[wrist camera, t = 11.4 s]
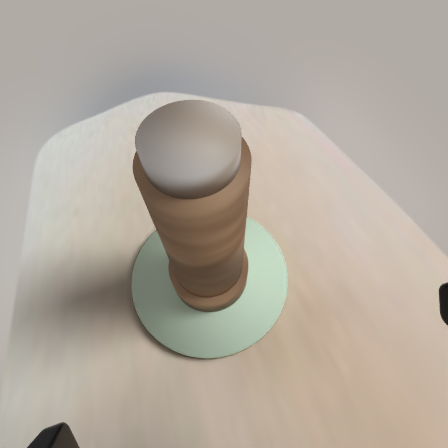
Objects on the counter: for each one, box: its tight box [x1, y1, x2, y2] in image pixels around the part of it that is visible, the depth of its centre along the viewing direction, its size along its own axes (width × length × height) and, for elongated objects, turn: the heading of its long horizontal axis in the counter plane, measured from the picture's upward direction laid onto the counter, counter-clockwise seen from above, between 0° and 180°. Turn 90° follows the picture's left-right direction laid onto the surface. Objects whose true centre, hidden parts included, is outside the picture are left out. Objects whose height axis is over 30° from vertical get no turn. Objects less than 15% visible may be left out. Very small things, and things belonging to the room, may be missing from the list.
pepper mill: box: [133, 100, 251, 312], centre depth 16 cm, size 5×5×13 cm
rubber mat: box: [131, 217, 288, 359], centre depth 22 cm, size 11×11×1 cm
